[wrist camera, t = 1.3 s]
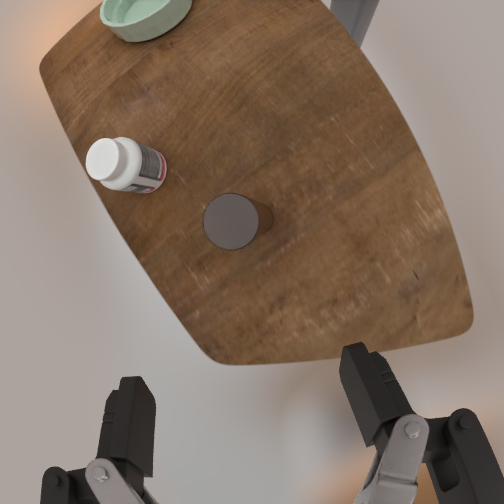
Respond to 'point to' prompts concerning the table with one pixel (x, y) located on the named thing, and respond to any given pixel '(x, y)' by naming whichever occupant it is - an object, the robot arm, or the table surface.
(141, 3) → the bowl
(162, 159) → the pill bottle
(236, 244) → the dark cylinder
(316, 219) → the table surface
